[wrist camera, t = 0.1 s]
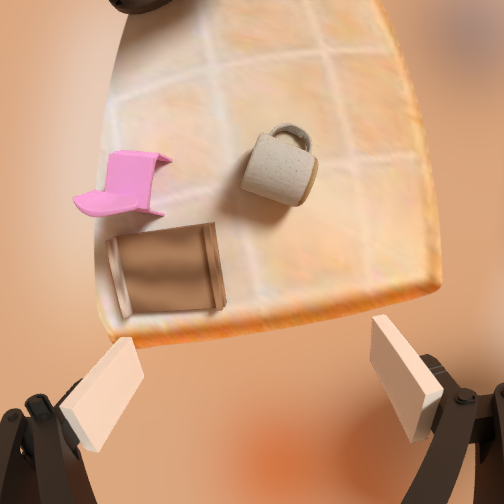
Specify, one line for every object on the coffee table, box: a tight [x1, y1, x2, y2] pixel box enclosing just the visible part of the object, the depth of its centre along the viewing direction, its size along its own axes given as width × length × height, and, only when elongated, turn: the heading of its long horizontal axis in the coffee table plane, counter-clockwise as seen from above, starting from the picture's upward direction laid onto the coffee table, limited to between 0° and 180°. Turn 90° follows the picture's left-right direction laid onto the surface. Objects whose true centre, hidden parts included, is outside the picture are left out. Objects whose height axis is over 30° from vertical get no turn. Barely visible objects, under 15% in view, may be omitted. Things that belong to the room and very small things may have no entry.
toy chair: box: [73, 150, 172, 217], centre depth 34 cm, size 8×9×15 cm
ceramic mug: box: [240, 123, 318, 207], centre depth 36 cm, size 11×8×8 cm
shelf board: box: [105, 222, 227, 318], centre depth 42 cm, size 12×16×4 cm
